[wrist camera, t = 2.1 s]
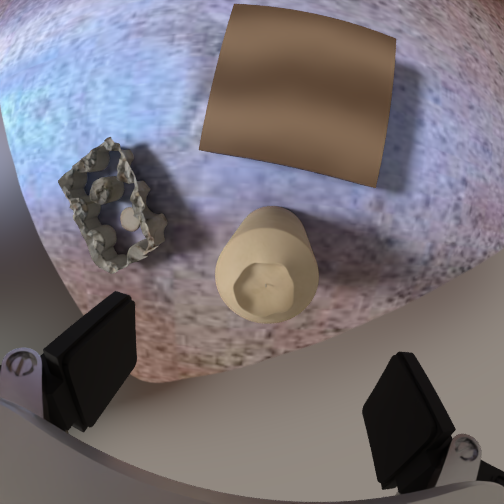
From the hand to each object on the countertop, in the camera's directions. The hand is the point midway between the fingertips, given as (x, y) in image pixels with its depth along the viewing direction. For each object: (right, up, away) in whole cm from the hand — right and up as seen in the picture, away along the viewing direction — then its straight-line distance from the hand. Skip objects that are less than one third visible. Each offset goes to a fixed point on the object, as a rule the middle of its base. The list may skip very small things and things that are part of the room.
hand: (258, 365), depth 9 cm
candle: (+1, +5, +14) cm, 15 cm away
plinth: (+4, +16, +10) cm, 19 cm away
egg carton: (-12, +8, +15) cm, 21 cm away
